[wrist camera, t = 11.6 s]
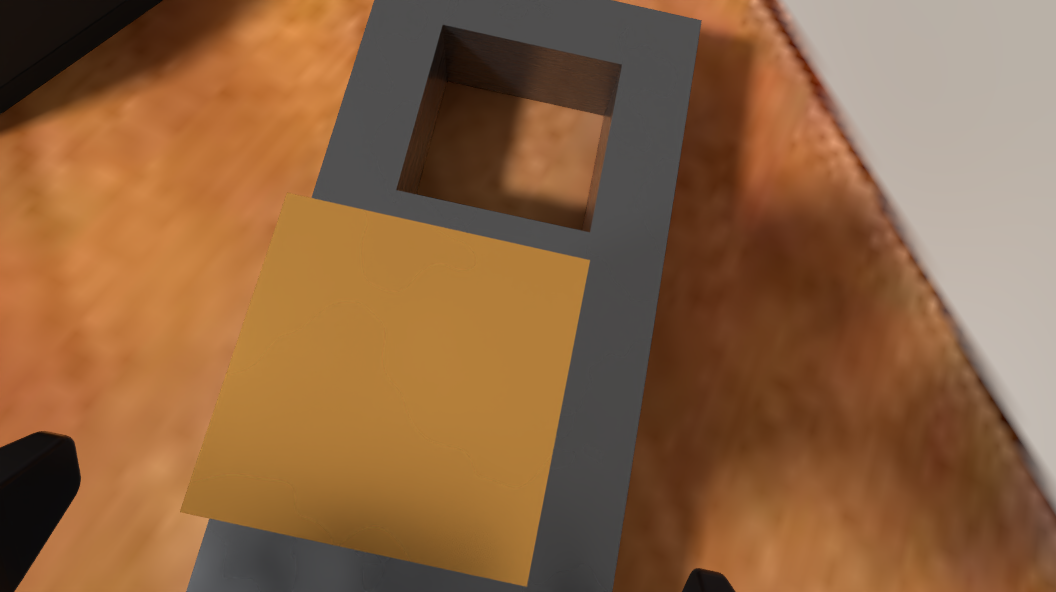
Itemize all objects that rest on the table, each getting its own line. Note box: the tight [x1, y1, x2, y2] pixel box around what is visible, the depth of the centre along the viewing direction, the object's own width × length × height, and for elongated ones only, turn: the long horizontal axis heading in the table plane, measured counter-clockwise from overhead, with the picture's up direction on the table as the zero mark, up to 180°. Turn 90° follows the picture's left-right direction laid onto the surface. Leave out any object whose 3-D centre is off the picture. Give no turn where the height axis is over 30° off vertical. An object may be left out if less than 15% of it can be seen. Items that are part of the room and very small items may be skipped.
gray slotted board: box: [186, 0, 702, 592], centre depth 19 cm, size 28×10×3 cm, turn 168°
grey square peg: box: [180, 193, 590, 587], centre depth 14 cm, size 4×4×12 cm
